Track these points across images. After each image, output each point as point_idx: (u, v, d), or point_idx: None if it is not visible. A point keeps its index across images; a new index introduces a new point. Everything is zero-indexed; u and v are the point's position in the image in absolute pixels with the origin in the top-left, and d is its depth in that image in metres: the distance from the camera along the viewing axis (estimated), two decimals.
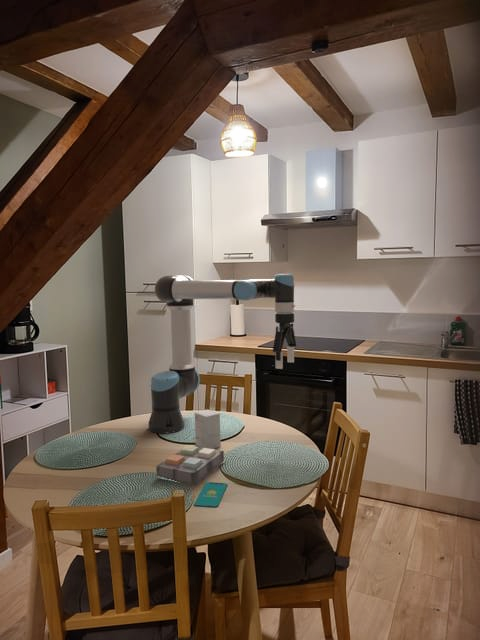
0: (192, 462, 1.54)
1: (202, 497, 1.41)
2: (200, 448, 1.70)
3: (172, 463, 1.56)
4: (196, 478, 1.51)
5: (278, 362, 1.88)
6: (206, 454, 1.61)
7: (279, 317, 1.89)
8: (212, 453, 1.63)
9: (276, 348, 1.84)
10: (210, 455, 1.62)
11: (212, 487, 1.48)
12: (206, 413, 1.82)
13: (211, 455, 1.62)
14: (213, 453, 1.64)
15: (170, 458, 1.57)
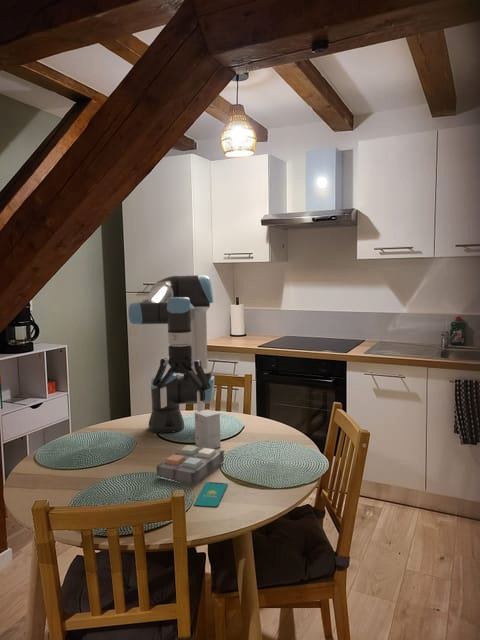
0: (192, 462, 1.54)
1: (202, 497, 1.41)
2: (200, 448, 1.70)
3: (172, 463, 1.56)
4: (196, 478, 1.51)
5: None
6: (206, 454, 1.61)
7: None
8: (212, 453, 1.63)
9: None
10: (210, 455, 1.62)
11: (212, 486, 1.48)
12: (206, 413, 1.82)
13: (211, 455, 1.62)
14: (213, 453, 1.64)
15: (170, 458, 1.57)
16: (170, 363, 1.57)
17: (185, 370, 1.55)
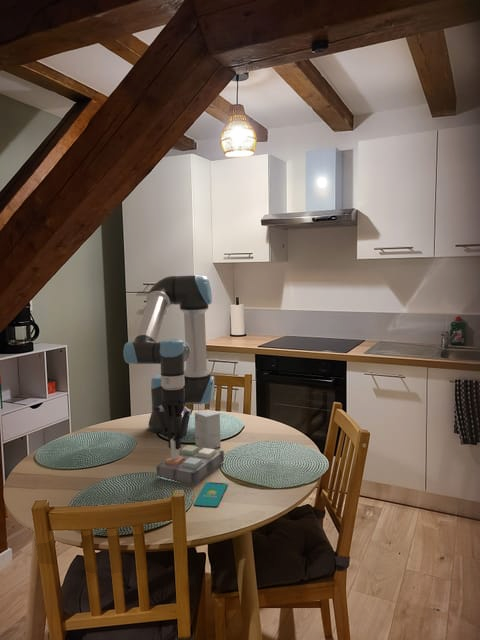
0: (192, 462, 1.54)
1: (202, 497, 1.41)
2: (200, 448, 1.70)
3: (172, 464, 1.56)
4: (196, 478, 1.51)
5: None
6: (206, 454, 1.61)
7: None
8: (212, 453, 1.63)
9: None
10: (210, 455, 1.62)
11: (212, 487, 1.48)
12: (206, 413, 1.82)
13: (211, 455, 1.62)
14: (213, 453, 1.64)
15: (170, 459, 1.58)
16: (163, 405, 1.57)
17: (174, 414, 1.55)
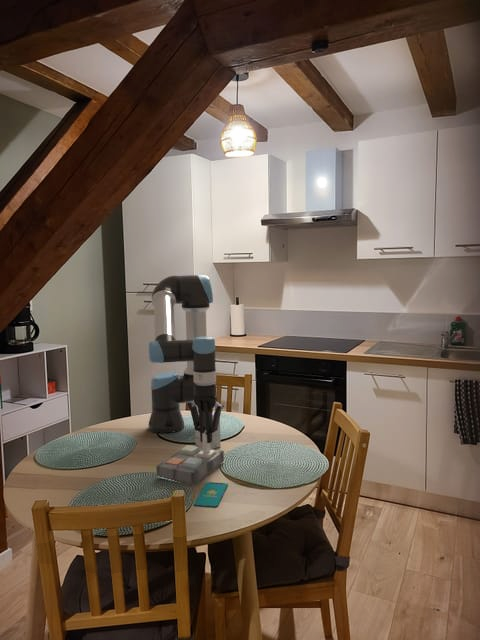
0: (192, 462, 1.54)
1: (202, 497, 1.41)
2: (200, 448, 1.70)
3: None
4: (196, 478, 1.51)
5: None
6: (206, 455, 1.61)
7: None
8: (212, 454, 1.63)
9: None
10: (210, 456, 1.62)
11: (213, 487, 1.48)
12: None
13: (211, 456, 1.62)
14: (213, 454, 1.64)
15: (170, 461, 1.58)
16: (195, 401, 1.62)
17: (206, 409, 1.60)
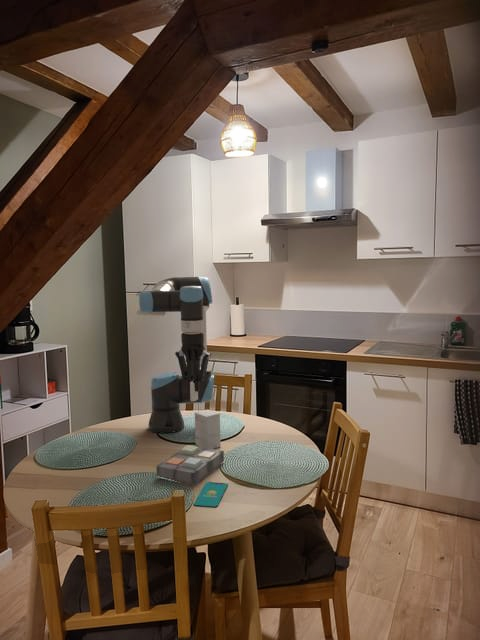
0: (192, 462, 1.54)
1: (202, 497, 1.41)
2: (200, 448, 1.70)
3: None
4: (196, 478, 1.51)
5: None
6: (206, 457, 1.61)
7: None
8: (212, 456, 1.63)
9: None
10: None
11: (213, 486, 1.48)
12: (206, 413, 1.82)
13: None
14: None
15: (170, 461, 1.58)
16: (183, 350, 1.63)
17: (194, 358, 1.61)
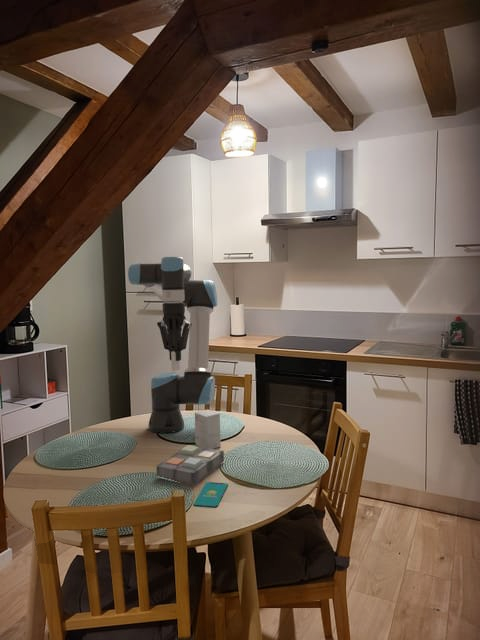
0: (192, 462, 1.54)
1: (202, 497, 1.41)
2: (200, 448, 1.70)
3: None
4: (196, 478, 1.51)
5: None
6: (206, 457, 1.61)
7: None
8: (212, 456, 1.63)
9: None
10: None
11: (213, 487, 1.48)
12: (206, 413, 1.82)
13: None
14: None
15: (170, 461, 1.58)
16: (164, 320, 1.66)
17: (174, 327, 1.64)
